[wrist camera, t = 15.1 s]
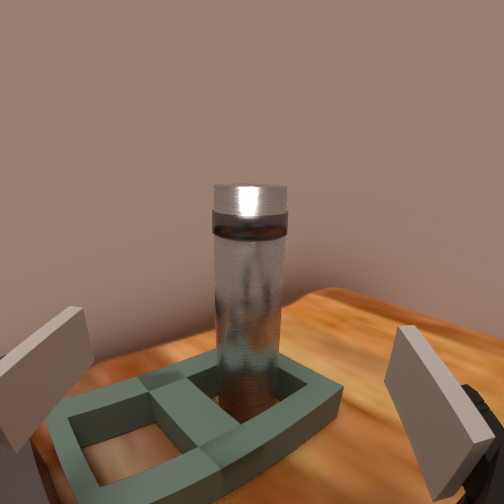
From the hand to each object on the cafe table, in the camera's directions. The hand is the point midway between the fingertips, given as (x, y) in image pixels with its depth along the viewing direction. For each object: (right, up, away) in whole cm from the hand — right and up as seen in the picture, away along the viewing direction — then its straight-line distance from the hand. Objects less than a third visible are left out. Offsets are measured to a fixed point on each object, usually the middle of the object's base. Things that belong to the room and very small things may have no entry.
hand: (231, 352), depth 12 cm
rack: (-3, -9, +7) cm, 11 cm away
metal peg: (0, -8, +9) cm, 12 cm away
